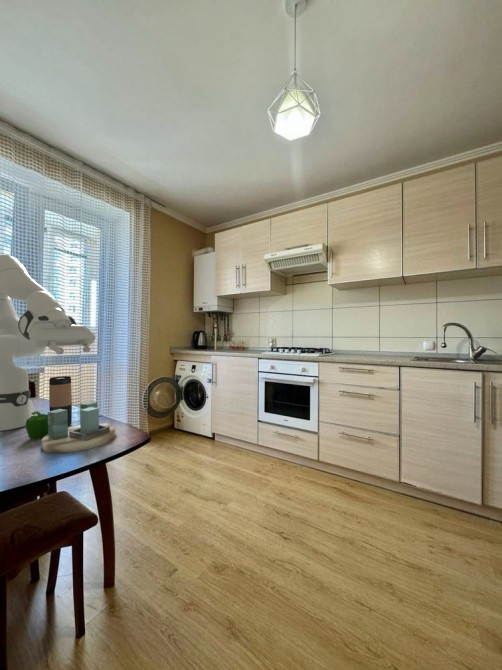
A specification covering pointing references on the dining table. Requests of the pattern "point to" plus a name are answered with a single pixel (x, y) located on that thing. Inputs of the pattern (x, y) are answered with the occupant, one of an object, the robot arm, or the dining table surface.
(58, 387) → the travel mug
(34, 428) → the bell pepper
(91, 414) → the loose leg
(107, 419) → the dining table surface
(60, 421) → the stool seat
